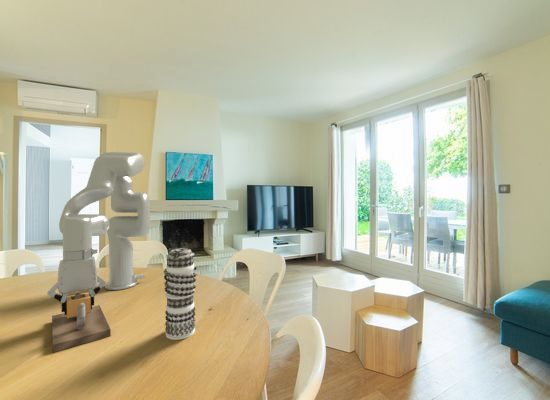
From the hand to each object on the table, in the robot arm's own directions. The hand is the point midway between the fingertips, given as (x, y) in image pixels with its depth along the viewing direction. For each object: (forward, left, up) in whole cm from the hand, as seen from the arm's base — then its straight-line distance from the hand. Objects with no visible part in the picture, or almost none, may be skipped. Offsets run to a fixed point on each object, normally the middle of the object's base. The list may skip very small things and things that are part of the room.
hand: (78, 310), depth 86 cm
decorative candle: (-23, +27, -4) cm, 36 cm away
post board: (0, +5, -4) cm, 6 cm away
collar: (0, 0, -1) cm, 1 cm away
